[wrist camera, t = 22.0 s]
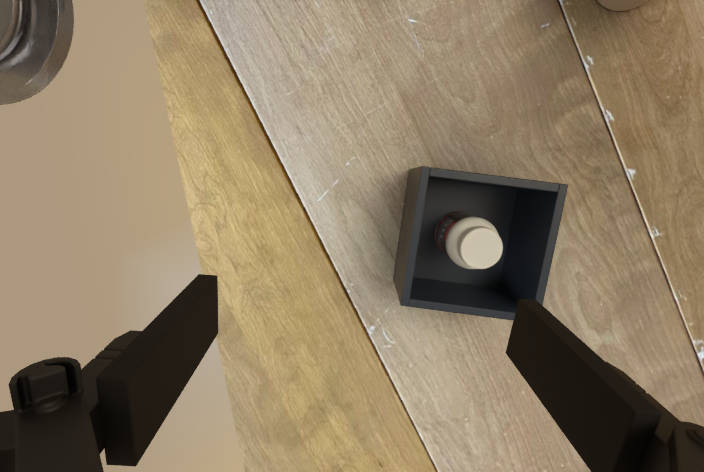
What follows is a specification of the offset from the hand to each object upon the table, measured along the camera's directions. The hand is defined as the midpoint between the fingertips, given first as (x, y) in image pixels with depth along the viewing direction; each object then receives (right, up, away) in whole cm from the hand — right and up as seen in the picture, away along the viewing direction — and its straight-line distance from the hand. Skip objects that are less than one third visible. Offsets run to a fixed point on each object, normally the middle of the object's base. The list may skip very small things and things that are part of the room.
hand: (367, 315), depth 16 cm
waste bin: (+12, +4, +28) cm, 31 cm away
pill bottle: (+12, +4, +28) cm, 30 cm away
